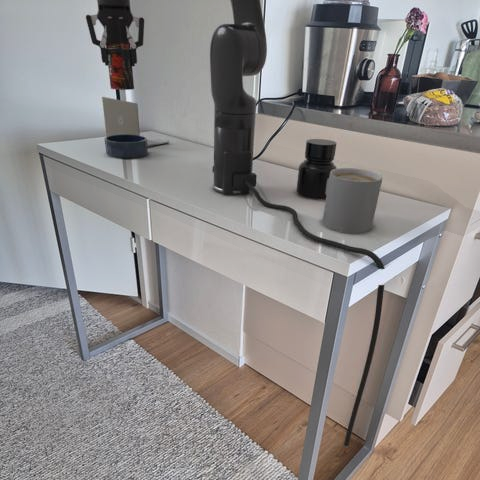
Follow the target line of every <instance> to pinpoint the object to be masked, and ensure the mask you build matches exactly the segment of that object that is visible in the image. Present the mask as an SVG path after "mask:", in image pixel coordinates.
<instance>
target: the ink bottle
mask: <svg viewBox="0 0 480 480" xmlns="http://www.w3.org/2000/svg"><path fill="white" fill-rule="evenodd" d="M336 149H337V142H336V141H334V140H331V139H323V138H310V139H307V140H306V143H305V151H304V158H305V159H304V160H303V161H301V163H300V164H299V166H298V173H297V182H296V194H298V195H299V196H300V197H303V198H305V199H315V200H326V195H327V189H328V182H329V176H330V172H331V171H332V170H333V169H338V168H337V166H336V164H335V163H334V160H335V156H336Z"/></svg>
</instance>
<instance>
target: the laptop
mask: <svg viewBox="0 0 480 480" xmlns="http://www.w3.org/2000/svg"><path fill="white" fill-rule="evenodd" d="M101 100H102V101H101V102H102V110H103V117H104V118H103V119H104V127H105V135H106V136H105V137H107V136H111V135H120V134H131V135H140V136H144V137H146V138H147V146H148V148H149V147H154V146H159V145H160V146H161V145H164V144H169V143H170V140H166V139H162V138H157V137H153V136H150V135H146V134H142V133H141V132H140V117H139V107H138V103H137V102H133V101H127V100H122V99H117V98H113V97H112V98H111V97H106V96H102V97H101Z"/></svg>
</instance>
